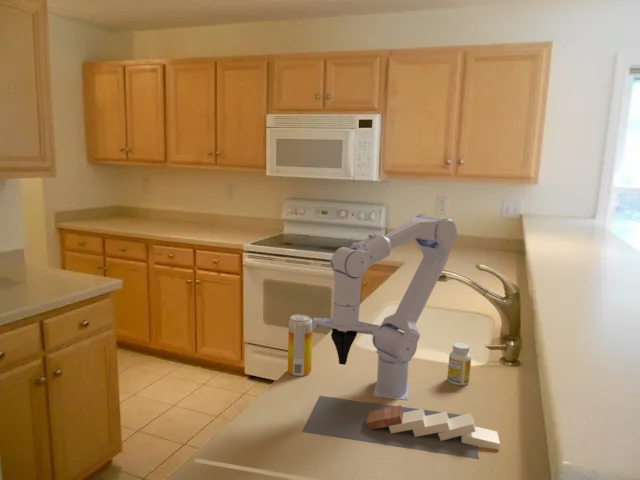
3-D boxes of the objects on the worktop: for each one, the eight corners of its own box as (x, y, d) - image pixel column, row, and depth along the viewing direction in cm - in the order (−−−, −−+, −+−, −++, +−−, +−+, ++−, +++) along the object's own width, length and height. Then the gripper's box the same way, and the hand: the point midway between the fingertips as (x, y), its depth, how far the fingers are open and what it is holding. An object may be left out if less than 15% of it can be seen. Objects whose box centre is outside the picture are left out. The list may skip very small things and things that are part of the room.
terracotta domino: (366, 422, 99) (399, 415, 97) (369, 412, 103) (400, 405, 101) (368, 430, 99) (402, 423, 97) (371, 419, 103) (403, 412, 101)
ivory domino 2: (412, 429, 97) (447, 422, 95) (413, 418, 101) (446, 411, 99) (414, 436, 97) (449, 430, 95) (415, 425, 101) (448, 418, 99)
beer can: (311, 368, 129) (312, 314, 127) (311, 378, 123) (313, 321, 121) (288, 368, 129) (289, 313, 126) (287, 378, 123) (288, 321, 120)
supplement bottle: (451, 386, 121) (454, 349, 120) (444, 376, 126) (446, 341, 125) (472, 385, 122) (475, 349, 120) (464, 376, 127) (467, 341, 125)
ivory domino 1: (388, 426, 98) (422, 419, 96) (390, 415, 102) (423, 408, 100) (390, 433, 98) (425, 427, 96) (392, 422, 102) (425, 415, 100)
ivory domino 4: (462, 434, 95) (500, 443, 93) (461, 423, 99) (497, 431, 98) (461, 442, 95) (498, 451, 94) (459, 430, 99) (495, 438, 98)
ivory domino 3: (437, 433, 96) (472, 424, 94) (437, 421, 100) (470, 412, 98) (440, 440, 96) (475, 431, 94) (440, 428, 100) (473, 419, 98)
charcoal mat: (319, 397, 113) (319, 395, 113) (471, 418, 106) (472, 416, 106) (301, 433, 98) (301, 431, 98) (478, 461, 90) (478, 458, 90)
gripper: (309, 304, 103) (306, 365, 105) (377, 311, 100) (373, 374, 102) (317, 296, 110) (314, 353, 112) (381, 303, 107) (377, 361, 109)
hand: (342, 362), depth 108 cm, fingers closed
